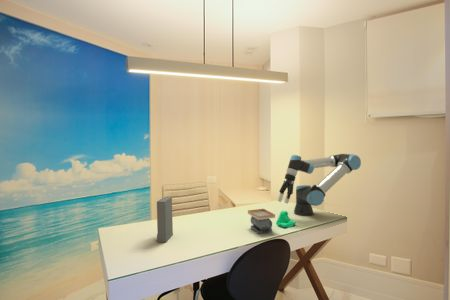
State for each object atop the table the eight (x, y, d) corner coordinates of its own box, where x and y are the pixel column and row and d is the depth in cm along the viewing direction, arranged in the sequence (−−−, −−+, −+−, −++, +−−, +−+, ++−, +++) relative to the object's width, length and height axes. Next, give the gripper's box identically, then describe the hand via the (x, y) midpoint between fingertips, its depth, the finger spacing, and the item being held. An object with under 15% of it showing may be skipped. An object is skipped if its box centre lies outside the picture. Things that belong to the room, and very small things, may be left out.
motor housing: (263, 225, 195) (263, 208, 194) (275, 232, 180) (275, 214, 179) (248, 227, 191) (247, 210, 190) (258, 235, 176) (258, 216, 175)
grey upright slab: (163, 234, 180) (163, 196, 179) (173, 234, 179) (172, 196, 178) (156, 242, 166) (155, 201, 165) (166, 242, 165) (165, 201, 164)
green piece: (283, 228, 188) (283, 214, 188) (276, 225, 195) (276, 211, 194) (296, 225, 194) (296, 211, 194) (288, 223, 201) (288, 209, 200)
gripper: (280, 173, 217) (272, 199, 214) (293, 173, 193) (284, 202, 189) (288, 176, 218) (281, 202, 215) (302, 176, 194) (294, 205, 190)
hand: (282, 202), depth 202 cm, fingers open, 13 cm apart
